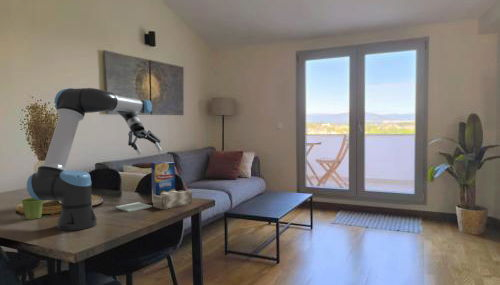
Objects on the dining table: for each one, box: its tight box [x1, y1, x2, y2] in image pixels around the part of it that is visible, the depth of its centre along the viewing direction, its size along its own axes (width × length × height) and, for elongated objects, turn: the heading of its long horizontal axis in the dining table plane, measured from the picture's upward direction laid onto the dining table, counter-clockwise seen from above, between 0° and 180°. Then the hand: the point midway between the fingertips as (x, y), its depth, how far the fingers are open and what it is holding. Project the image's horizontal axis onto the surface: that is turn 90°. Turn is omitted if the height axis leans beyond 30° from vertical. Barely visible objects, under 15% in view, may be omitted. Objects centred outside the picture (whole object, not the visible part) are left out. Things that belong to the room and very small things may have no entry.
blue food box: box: [150, 161, 176, 203], centre depth 198 cm, size 7×11×22 cm, turn 123°
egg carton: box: [152, 190, 193, 210], centre depth 191 cm, size 18×10×7 cm, turn 138°
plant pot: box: [20, 197, 45, 220], centre depth 167 cm, size 9×9×9 cm
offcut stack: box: [160, 190, 179, 196], centre depth 192 cm, size 12×5×6 cm, turn 138°
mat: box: [115, 201, 153, 213], centre depth 186 cm, size 13×13×1 cm
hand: (150, 152), depth 206 cm, fingers open, 13 cm apart
